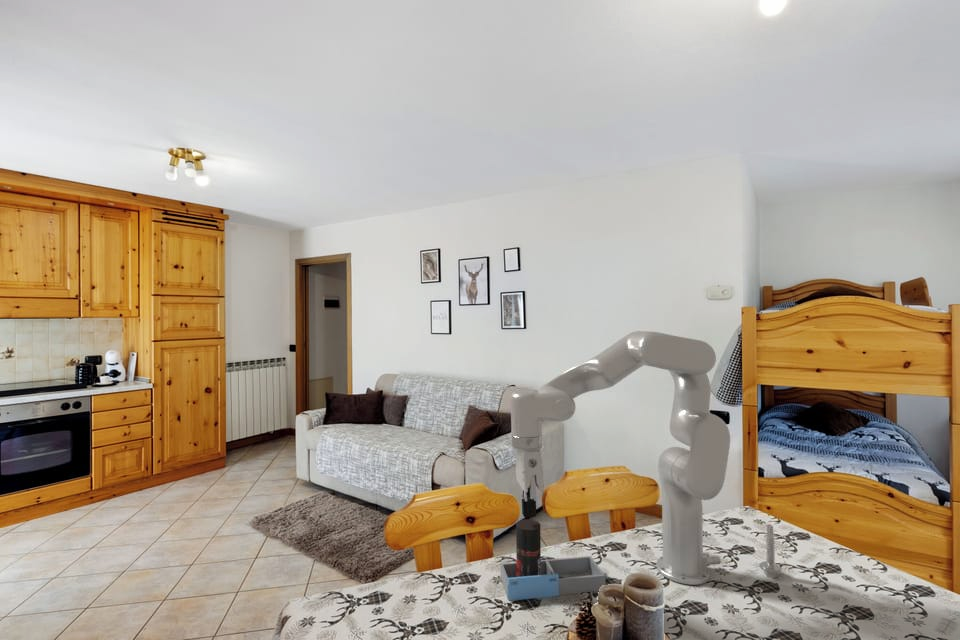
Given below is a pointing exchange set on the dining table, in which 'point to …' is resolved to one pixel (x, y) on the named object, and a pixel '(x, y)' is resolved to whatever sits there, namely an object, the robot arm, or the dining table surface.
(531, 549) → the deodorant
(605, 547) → the dining table surface
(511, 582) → the two-compartment tray
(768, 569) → the screw
